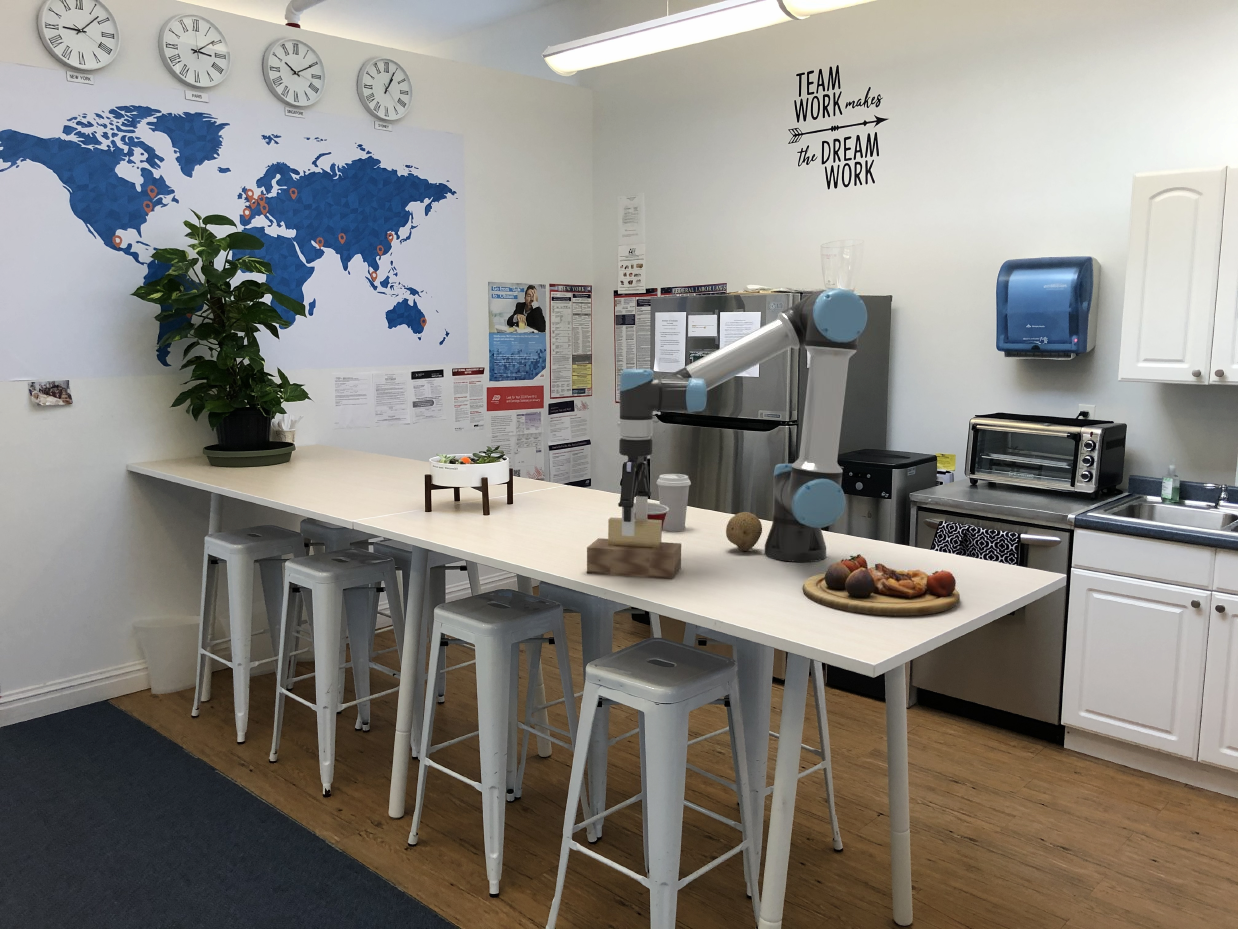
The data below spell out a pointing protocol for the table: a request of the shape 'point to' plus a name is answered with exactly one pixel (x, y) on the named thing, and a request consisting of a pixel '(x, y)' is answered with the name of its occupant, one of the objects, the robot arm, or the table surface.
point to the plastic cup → (655, 511)
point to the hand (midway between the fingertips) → (634, 529)
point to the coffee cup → (674, 500)
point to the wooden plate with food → (882, 589)
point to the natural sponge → (744, 530)
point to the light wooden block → (636, 533)
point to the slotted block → (634, 560)
